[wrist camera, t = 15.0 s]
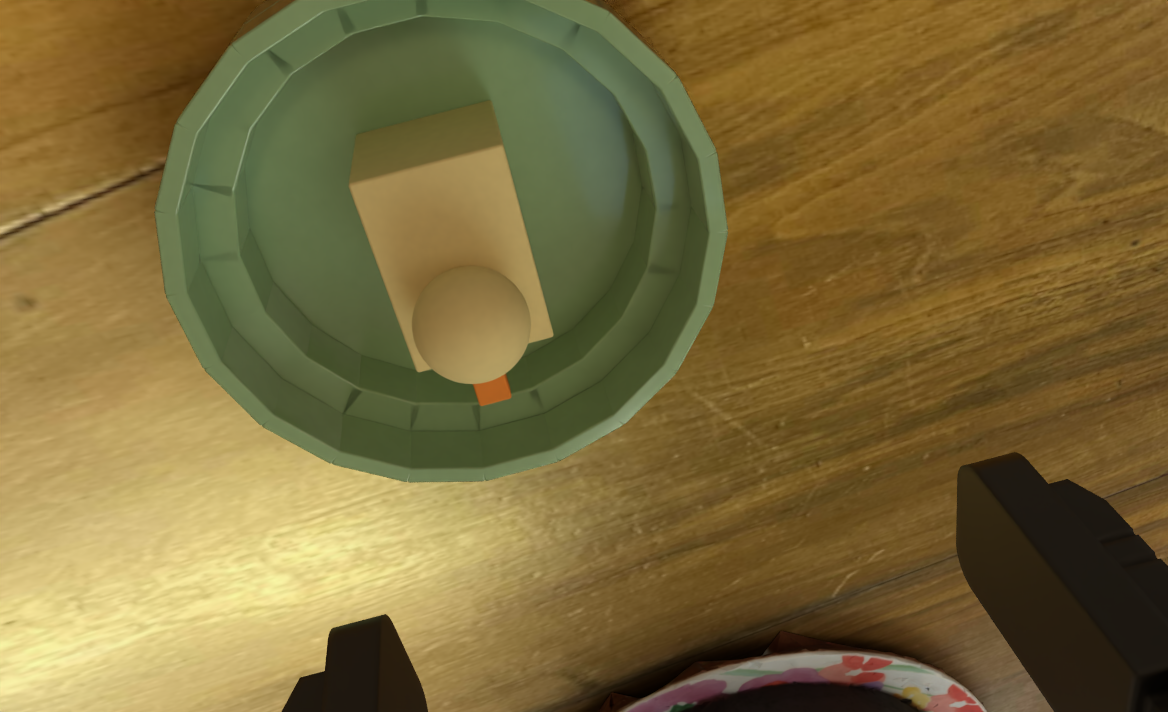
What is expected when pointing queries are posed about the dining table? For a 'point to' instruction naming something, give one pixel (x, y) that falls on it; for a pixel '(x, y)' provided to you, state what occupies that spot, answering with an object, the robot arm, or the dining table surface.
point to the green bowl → (347, 264)
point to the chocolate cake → (807, 683)
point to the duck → (451, 245)
